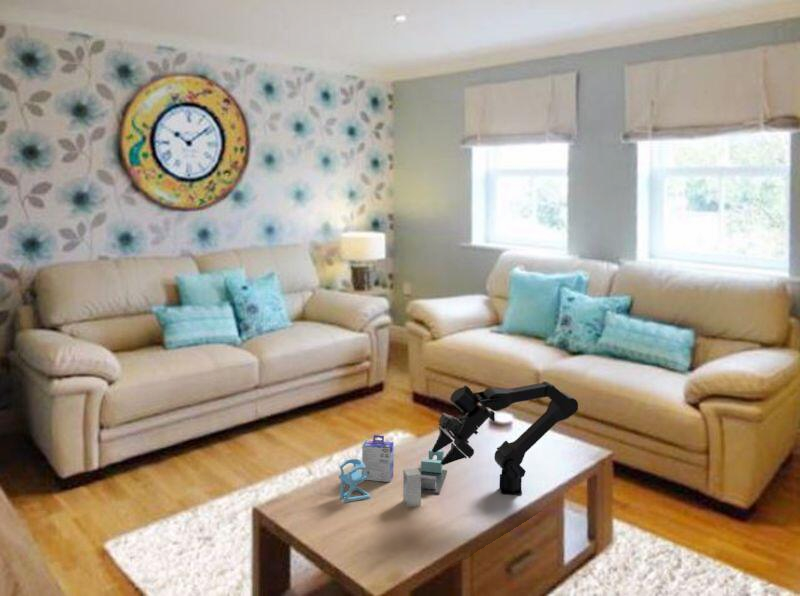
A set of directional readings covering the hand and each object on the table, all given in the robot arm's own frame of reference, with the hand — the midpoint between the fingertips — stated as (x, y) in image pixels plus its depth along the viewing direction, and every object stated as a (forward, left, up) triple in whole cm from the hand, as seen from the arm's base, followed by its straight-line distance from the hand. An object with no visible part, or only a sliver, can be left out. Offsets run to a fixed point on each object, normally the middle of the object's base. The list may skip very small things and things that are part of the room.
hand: (437, 457), depth 202 cm
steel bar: (+7, +3, -14) cm, 16 cm away
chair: (+26, +1, -14) cm, 30 cm away
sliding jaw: (+2, -22, -13) cm, 26 cm away
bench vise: (+3, -12, -14) cm, 19 cm away
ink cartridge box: (+20, -13, -14) cm, 28 cm away
